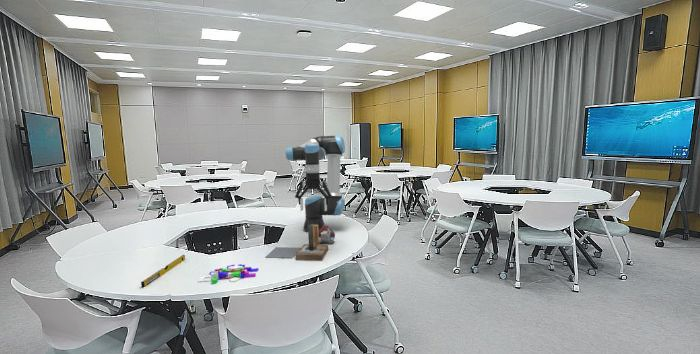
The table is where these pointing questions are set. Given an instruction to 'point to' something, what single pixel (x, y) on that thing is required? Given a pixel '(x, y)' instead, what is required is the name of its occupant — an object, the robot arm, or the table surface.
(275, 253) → the rubber mat
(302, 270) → the table surface
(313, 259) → the wooden peg stand
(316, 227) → the square frame with handle
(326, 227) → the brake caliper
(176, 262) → the spirit level
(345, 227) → the table surface
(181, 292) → the table surface
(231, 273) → the building block set
